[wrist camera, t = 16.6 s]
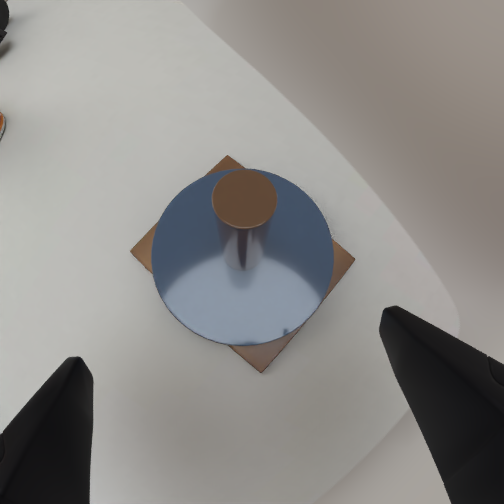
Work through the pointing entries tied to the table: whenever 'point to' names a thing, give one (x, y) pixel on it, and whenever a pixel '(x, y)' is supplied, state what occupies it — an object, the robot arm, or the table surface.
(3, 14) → the light fixture
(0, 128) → the pill bottle
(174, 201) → the lid
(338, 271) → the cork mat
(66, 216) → the table surface
